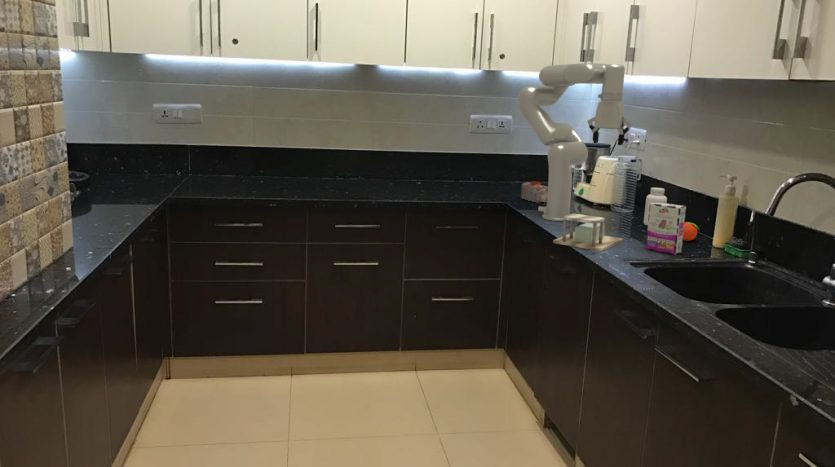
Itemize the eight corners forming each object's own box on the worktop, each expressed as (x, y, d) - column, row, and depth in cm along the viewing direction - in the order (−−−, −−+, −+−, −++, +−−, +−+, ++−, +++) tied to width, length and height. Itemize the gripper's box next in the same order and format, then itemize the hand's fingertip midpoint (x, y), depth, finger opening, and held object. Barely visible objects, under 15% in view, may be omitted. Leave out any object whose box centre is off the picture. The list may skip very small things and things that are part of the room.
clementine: (702, 241, 257) (704, 222, 256) (693, 244, 253) (695, 225, 251) (681, 237, 263) (683, 219, 261) (672, 240, 258) (674, 221, 257)
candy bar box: (681, 253, 239) (687, 205, 236) (675, 255, 236) (680, 207, 232) (651, 246, 247) (656, 201, 243) (644, 249, 244) (649, 202, 240)
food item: (549, 203, 327) (551, 182, 325) (536, 204, 323) (538, 183, 320) (530, 198, 338) (532, 178, 336) (517, 199, 334) (519, 179, 332)
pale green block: (574, 240, 248) (575, 227, 247) (588, 234, 259) (590, 221, 257) (589, 243, 245) (590, 229, 244) (603, 237, 255) (604, 223, 254)
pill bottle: (667, 227, 281) (671, 190, 277) (647, 226, 280) (650, 189, 277) (660, 223, 288) (663, 187, 285) (640, 222, 288) (644, 186, 285)
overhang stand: (553, 242, 249) (555, 215, 247) (576, 233, 265) (578, 207, 262) (601, 251, 238) (604, 222, 236) (622, 241, 254) (625, 214, 252)
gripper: (585, 97, 264) (582, 142, 267) (630, 99, 254) (626, 146, 258) (593, 97, 270) (590, 141, 273) (638, 99, 260) (633, 145, 263)
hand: (607, 143), depth 265 cm, fingers open, 9 cm apart
